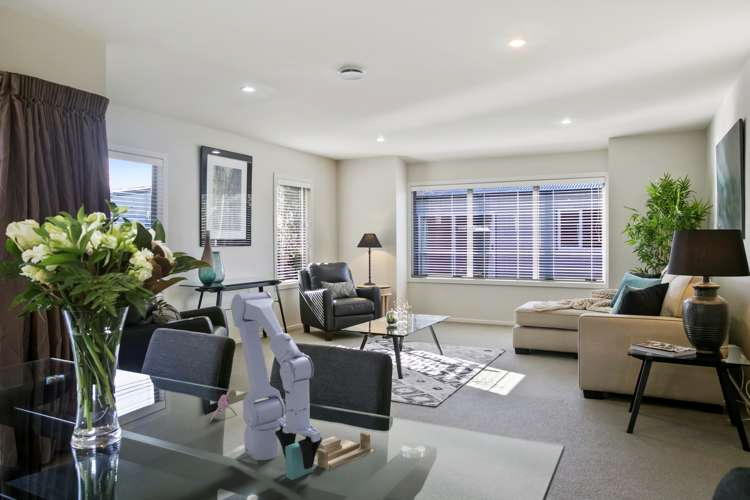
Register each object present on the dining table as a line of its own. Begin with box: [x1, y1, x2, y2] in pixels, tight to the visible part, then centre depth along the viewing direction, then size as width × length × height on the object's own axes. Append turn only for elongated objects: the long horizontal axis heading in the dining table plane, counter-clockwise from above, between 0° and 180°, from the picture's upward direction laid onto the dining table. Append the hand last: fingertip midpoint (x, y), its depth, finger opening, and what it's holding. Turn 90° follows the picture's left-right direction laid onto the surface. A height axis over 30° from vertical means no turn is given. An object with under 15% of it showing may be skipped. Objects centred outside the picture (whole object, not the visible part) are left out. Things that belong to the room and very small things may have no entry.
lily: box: [210, 387, 238, 422], centre depth 170 cm, size 12×12×10 cm
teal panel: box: [285, 441, 313, 481], centre depth 125 cm, size 2×6×8 cm, turn 135°
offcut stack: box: [317, 435, 342, 454], centre depth 138 cm, size 4×7×2 cm, turn 135°
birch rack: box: [313, 431, 375, 472], centre depth 136 cm, size 12×16×5 cm
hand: (298, 463), depth 125 cm, fingers open, 7 cm apart
